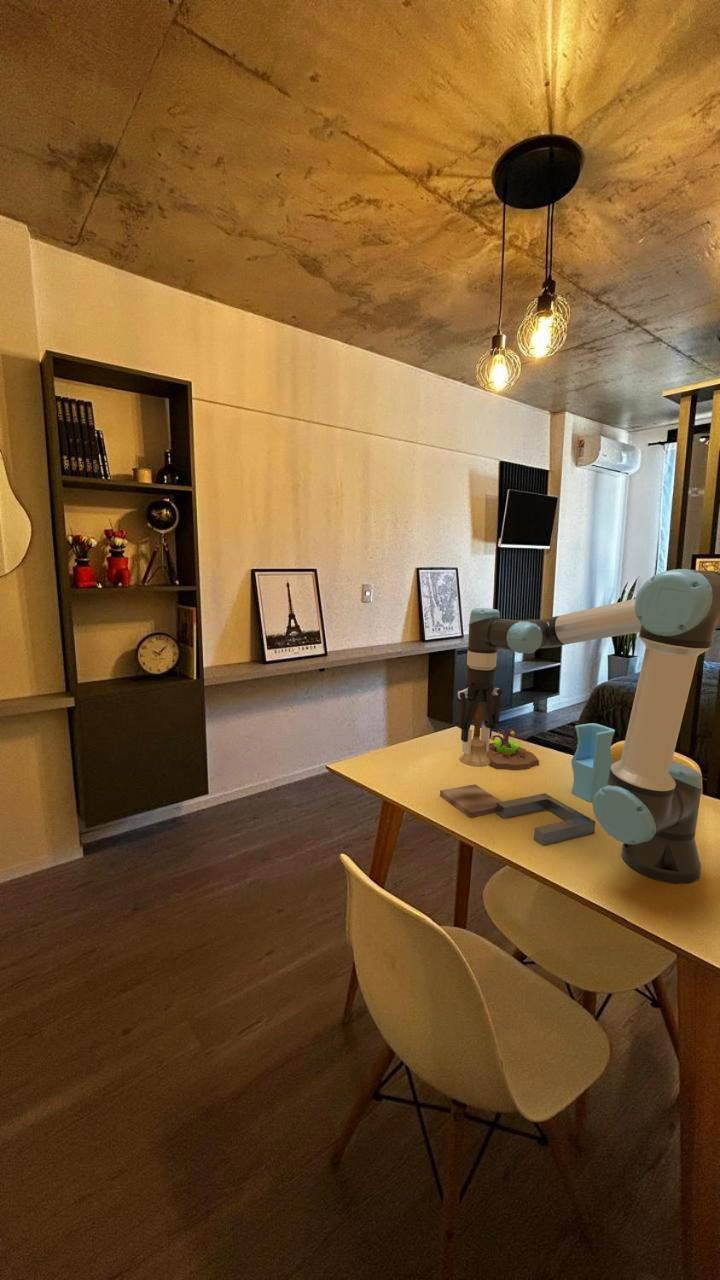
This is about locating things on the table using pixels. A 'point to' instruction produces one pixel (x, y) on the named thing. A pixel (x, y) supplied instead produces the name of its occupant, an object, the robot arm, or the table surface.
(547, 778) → the table surface
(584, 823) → the silver c-shaped bracket
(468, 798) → the walnut board
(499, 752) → the plant
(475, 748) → the hand bell
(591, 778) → the light blue holder
